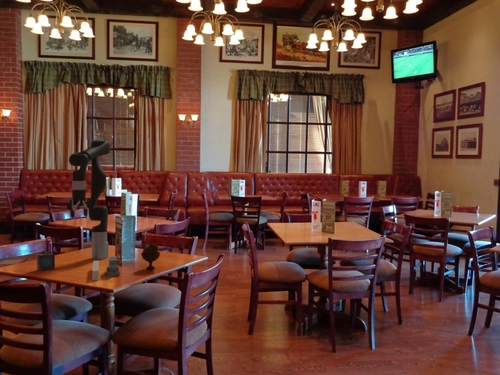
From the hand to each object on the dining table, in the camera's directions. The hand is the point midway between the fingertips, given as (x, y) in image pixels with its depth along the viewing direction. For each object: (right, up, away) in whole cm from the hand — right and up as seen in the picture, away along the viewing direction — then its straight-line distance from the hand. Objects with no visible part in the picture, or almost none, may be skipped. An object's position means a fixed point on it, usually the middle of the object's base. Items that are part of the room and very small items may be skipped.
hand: (79, 216), depth 259 cm
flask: (-18, -30, -3) cm, 35 cm away
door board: (+14, -31, -11) cm, 36 cm away
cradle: (+22, -31, -9) cm, 39 cm away
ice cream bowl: (+40, -31, +4) cm, 51 cm away
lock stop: (+22, -31, -9) cm, 39 cm away
